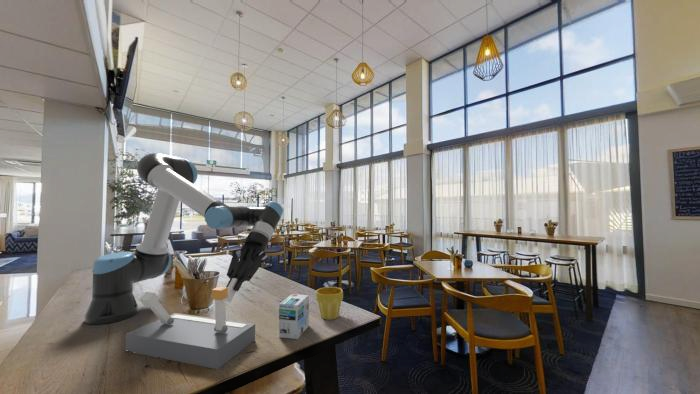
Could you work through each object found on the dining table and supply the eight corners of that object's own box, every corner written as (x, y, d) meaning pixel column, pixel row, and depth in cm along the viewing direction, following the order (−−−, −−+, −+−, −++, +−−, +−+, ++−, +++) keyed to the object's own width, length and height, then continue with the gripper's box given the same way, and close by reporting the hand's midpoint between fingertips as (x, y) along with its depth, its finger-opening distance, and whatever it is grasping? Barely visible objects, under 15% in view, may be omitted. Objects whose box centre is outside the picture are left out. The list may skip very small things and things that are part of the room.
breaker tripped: (213, 333, 79) (211, 289, 79) (219, 328, 82) (218, 286, 81) (222, 334, 78) (221, 290, 78) (228, 330, 81) (227, 287, 80)
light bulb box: (297, 340, 86) (298, 305, 86) (277, 337, 87) (278, 303, 88) (309, 325, 97) (309, 294, 97) (291, 323, 98) (291, 293, 98)
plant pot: (310, 317, 104) (310, 291, 104) (328, 309, 112) (328, 285, 112) (330, 324, 97) (331, 296, 98) (348, 315, 106) (348, 289, 106)
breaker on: (161, 325, 85) (138, 299, 79) (168, 318, 87) (146, 291, 81) (169, 326, 84) (147, 300, 78) (175, 319, 86) (154, 292, 80)
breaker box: (125, 351, 79) (125, 332, 79) (174, 327, 95) (174, 312, 95) (217, 369, 70) (217, 348, 71) (255, 340, 86) (255, 323, 86)
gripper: (279, 244, 99) (250, 308, 82) (248, 243, 102) (214, 304, 86) (271, 231, 94) (239, 296, 77) (238, 230, 97) (201, 292, 81)
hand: (226, 300), depth 82 cm, fingers closed
